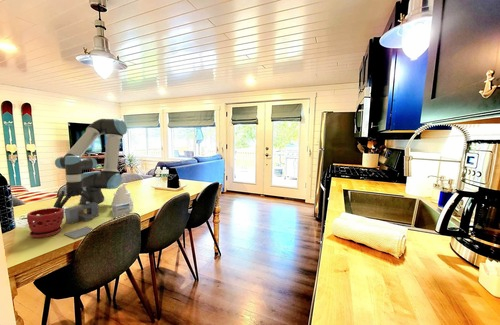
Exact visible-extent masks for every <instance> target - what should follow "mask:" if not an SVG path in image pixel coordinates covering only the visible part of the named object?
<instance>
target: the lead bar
mask: <svg viewBox="0 0 500 325" xmlns="http://www.w3.org/2000/svg"><path fill="white" fill-rule="evenodd" d="M93 218H94V217H92V215H91V214H87V212H84V211H83V212H82V213H78V219H79V221H82V222H89V221H92V220H93Z"/></svg>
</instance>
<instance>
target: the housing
mask: <svg viewBox="0 0 500 325" xmlns="http://www.w3.org/2000/svg"><path fill="white" fill-rule="evenodd" d="M86 209H87V211H86V213H87V214H91V215H92V218H96V217H99V203H95V202H92V203H88V204H80V205H77V206H76V205H75V206H71V207H67V208H64V218H65V223H67V224H70V225H72V224H74V223H79V222H80V220H79V219H78V211H79V210H83V211H84V210H86Z"/></svg>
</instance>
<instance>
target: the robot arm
mask: <svg viewBox="0 0 500 325" xmlns="http://www.w3.org/2000/svg"><path fill="white" fill-rule="evenodd" d="M127 132H128V127H127V124H126V122H125V121H124V120H123V119H120V118H119V119H117V118H99V119H97V120H94V121H93V122H92V123H91V124H89V125H88V126H87V127H86V128H85V131H84V132H83V134H82V135H81V136H80V138H79V139H78V140H77V141H76V142H75V144H74V145H72V147H71V148H70V149H69V150H68V152H66V153H65V155H64V156H60V157H57V158H55V161H54V166H56V168H58V169H60V170H61V169H62V170H63V169H64V170H65V182H66V183H65V186H66V189H65V190H60V191H59V195H58V197H57V198H56V200H55V202H54V203H53V204H54V205H53V208H61V209H63V219H65V208H64V206H65V204H66V203H67V202H68V201H69V200H70V199H71V198H72V197H73V198H74V197H79V196H80V199H79V204H80V205H83V204H88V203H92V202H95V203H98V204H99V203H103V202H104V201H105V196H104V194H103V191H102V189H103V190H106V189H107V190H115V189H118V188H119V187H120V186H121V185H122V182H123V177H122V174H120V171H119V170H118V164H119V154H120V146H121V145H120V144H121V139H123V137H124V135H126V134H127ZM101 135H104V136H105V137H106V144H105V153H104V163H103V169H101V170H95V171H89V172H88V171H87V172H83V173H82V171H86V170H91V169H95V168H97V165H98V162H97V159H96V158H94V157H83V155H84V154H85V153H86V151H87V150H88V149H89V147H91V145H92V144H93V143H94V142H95V141H96V139H97V138H99V137H100V136H101ZM64 196H65V197H64ZM85 210H86V211H85V212H87V209H85Z"/></svg>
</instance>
